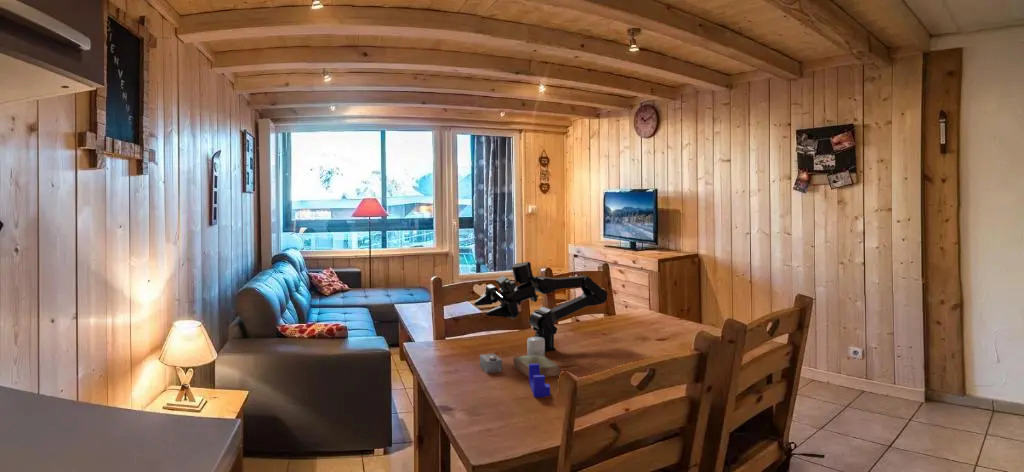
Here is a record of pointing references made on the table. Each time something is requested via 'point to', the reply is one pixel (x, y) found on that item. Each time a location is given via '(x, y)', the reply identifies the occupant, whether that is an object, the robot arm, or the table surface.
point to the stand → (545, 364)
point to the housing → (490, 363)
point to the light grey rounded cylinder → (536, 346)
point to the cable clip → (538, 382)
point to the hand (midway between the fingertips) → (480, 309)
